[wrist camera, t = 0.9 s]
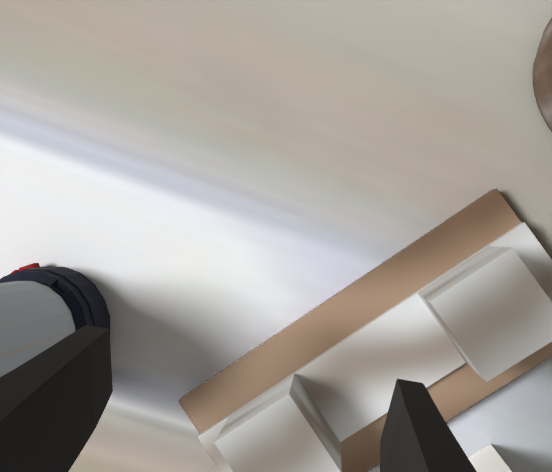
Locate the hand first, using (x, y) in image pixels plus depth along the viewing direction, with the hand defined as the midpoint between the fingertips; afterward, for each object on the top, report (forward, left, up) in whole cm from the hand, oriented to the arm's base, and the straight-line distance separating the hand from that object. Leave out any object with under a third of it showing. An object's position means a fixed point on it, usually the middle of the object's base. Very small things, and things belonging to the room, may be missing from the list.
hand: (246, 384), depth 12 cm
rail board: (-6, -2, -20) cm, 21 cm away
